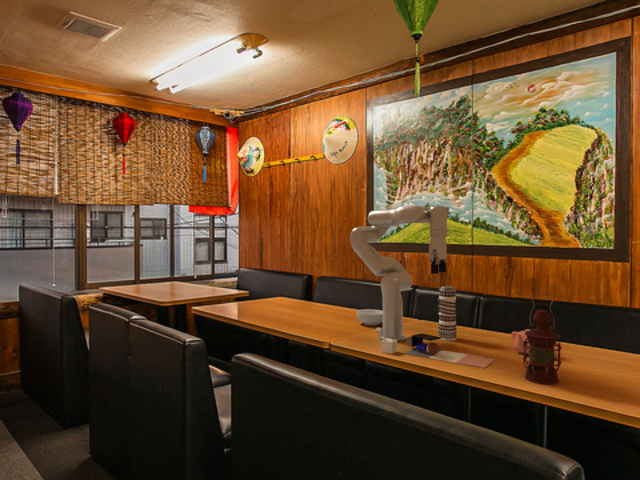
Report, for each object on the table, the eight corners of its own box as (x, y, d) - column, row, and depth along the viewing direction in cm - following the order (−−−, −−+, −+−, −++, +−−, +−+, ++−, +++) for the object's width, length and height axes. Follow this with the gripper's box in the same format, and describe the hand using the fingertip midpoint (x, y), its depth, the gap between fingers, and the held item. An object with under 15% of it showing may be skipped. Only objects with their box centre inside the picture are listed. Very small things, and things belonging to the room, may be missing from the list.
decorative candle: (439, 335, 217) (439, 285, 217) (458, 337, 213) (459, 286, 213) (435, 339, 209) (435, 287, 209) (455, 341, 205) (456, 288, 205)
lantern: (568, 381, 151) (569, 293, 150) (550, 388, 144) (551, 296, 143) (533, 371, 161) (534, 289, 160) (515, 378, 154) (515, 292, 153)
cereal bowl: (378, 328, 233) (378, 315, 233) (351, 325, 242) (351, 312, 242) (391, 323, 247) (391, 310, 247) (365, 320, 256) (365, 308, 256)
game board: (404, 353, 184) (404, 352, 184) (418, 346, 196) (418, 346, 196) (484, 368, 165) (484, 367, 165) (495, 359, 176) (495, 359, 176)
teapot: (509, 348, 193) (510, 325, 193) (539, 350, 191) (539, 326, 191) (517, 357, 179) (517, 332, 179) (548, 359, 177) (548, 334, 177)
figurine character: (405, 352, 191) (431, 356, 178) (404, 334, 192) (430, 337, 179) (417, 349, 195) (443, 354, 182) (416, 332, 195) (441, 335, 182)
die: (381, 352, 187) (381, 340, 187) (386, 349, 191) (386, 338, 191) (391, 354, 184) (391, 342, 184) (397, 351, 188) (397, 339, 188)
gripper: (437, 234, 203) (437, 271, 203) (422, 234, 189) (423, 273, 189) (453, 234, 199) (453, 271, 199) (439, 234, 185) (440, 274, 185)
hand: (438, 272), depth 194 cm, fingers open, 9 cm apart
